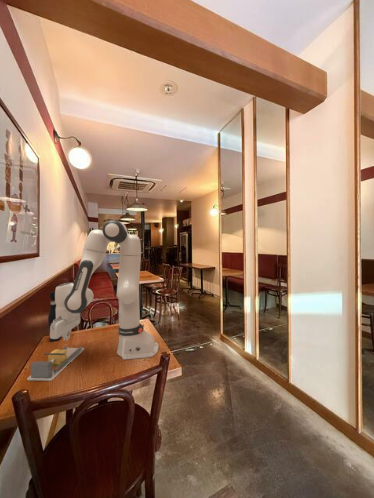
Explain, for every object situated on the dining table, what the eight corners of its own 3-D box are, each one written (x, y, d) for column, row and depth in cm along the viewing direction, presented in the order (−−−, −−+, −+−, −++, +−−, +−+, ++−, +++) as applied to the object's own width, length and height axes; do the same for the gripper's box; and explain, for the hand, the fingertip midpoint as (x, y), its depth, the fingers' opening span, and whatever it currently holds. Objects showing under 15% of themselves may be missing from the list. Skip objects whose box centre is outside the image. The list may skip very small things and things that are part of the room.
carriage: (71, 358, 106) (70, 348, 105) (59, 369, 97) (58, 358, 96) (51, 358, 106) (51, 348, 106) (37, 369, 97) (37, 358, 97)
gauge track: (84, 349, 117) (83, 337, 117) (51, 380, 91) (50, 365, 91) (65, 349, 118) (64, 337, 117) (27, 380, 92) (26, 364, 91)
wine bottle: (59, 336, 135) (57, 290, 134) (62, 338, 131) (60, 291, 130) (47, 339, 130) (45, 292, 129) (51, 342, 126) (49, 293, 125)
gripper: (58, 321, 99) (59, 349, 100) (82, 307, 120) (83, 331, 120) (45, 321, 100) (46, 349, 100) (71, 307, 120) (72, 331, 121)
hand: (66, 339), depth 111 cm, fingers closed
